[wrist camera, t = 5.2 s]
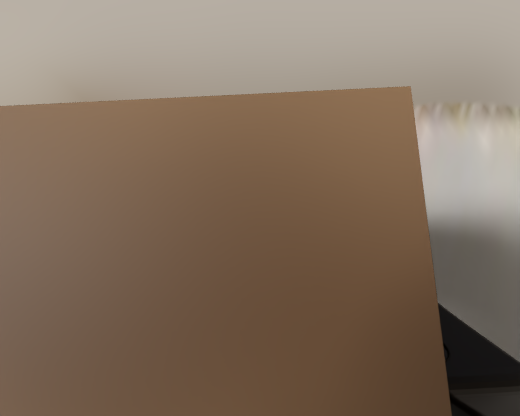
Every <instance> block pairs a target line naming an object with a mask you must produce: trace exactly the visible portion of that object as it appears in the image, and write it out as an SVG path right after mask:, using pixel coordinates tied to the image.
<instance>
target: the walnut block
mask: <svg viewBox="0 0 520 416" xmlns="http://www.w3.org/2000/svg"><path fill="white" fill-rule="evenodd" d="M0 416H452V413H451V405H450V397H449V389H448V381H447V373H446V365H445V357H444V349H443V341H442V333H441V325H440V317H439V309H438V301H437V293H436V285H435V277H434V269H433V261H432V253H431V246H430V238H429V230H428V222H427V214H426V206H425V198H424V190H423V182H422V174H421V166H420V158H419V150H418V142H417V134H416V126H415V118H414V110H413V102H412V94H411V87H410V86H408V87H387V88H366V89H346V90H325V91H304V92H284V93H263V94H245V95H244V94H242V95H222V96H202V97H181V98H160V99H139V100H119V101H98V102H79V103H78V102H77V103H58V104H36V105H16V106H0Z"/></svg>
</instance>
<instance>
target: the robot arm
mask: <svg viewBox="0 0 520 416" xmlns="http://www.w3.org/2000/svg"><path fill="white" fill-rule="evenodd" d="M438 309H439V317H440V325H441V333H442V341H443V349H444V357H445V365H446V373H447V381H448V389H449V397H450V405H451V413H452V416H520V362H518V361H517V360H516V359H514V358H513V357H511V356H510V355H509V354H507V353H506V352H504V351H503V350H502V349H500V348H499V347H497V346H496V345H494V344H493V343H492V342H490V341H489V340H487V339H486V338H485V337H483V336H482V335H480V334H479V333H478V332H476V331H475V330H473V329H472V328H471V327H469V326H468V325H467V324H465V323H464V322H462V321H461V320H460V319H458V318H457V317H456V316H454V315H453V314H452V313H450V312H449V311H448V310H447V309H445V308H444V307H443V306H442V305H440V304H439V303H438Z"/></svg>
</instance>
